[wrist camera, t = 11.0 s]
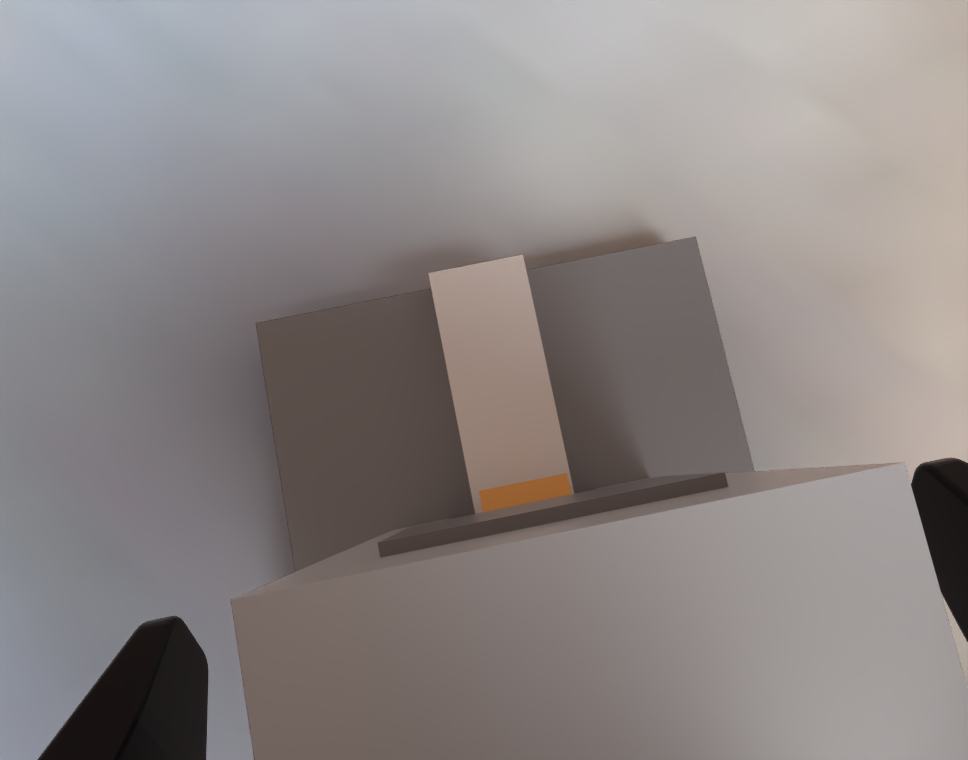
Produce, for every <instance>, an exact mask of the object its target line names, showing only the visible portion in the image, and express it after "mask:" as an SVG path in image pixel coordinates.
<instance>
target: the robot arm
mask: <svg viewBox="0 0 968 760" xmlns="http://www.w3.org/2000/svg"><path fill="white" fill-rule="evenodd" d="M911 487H912V491H913V494H914V498H915V501H916V505H917V508H918V512H919V516H920V519H921V523H922V526H923V530H924V533H925V537H926V541H927V544H928V548H929V551H930V555H931V558H932V562H933V566H934V569H935V573H936V576H937V580H938V584H939V587H940V591H941V593H942V595H943V597H944V599H945V601H946V603H947V605H948V607H949V608H950V610H951V612H952V614H953V616H954V618H955V620H956V622H957V624H958V626H959V627H960V629H961V631H962V633H963V635H964V636H965V638H966V640H967V642H968V463H966V462H964V461H962V460H960V459H956V458H944V459H940V460H935V461H930V462H925V463H922V464H920V465H919V466H918V467H917V468H916V470H915V472H914V476H913V480H912V483H911ZM207 704H208V664H207V659H206V656H205V654H204V652H203V650H202V649H201V647H200V646H199V644H198V643H197V641H196V639H195V638H194V636H193V635H192V633H191V632H190V630H189V629H188V627H187V626H186V624H185V623H184V621H183V620H182V619H181V618H179V617H177V616H170V617H165V618H160V619H155V620H151V621H147V622H145V623H143V624H142V625H141V626H139V627H138V628H137V629H136V631H135V632H134V633H133V635H132V636H131V637H130V638H129V640H128V641H127V642H126V644H125V645H124V646H123V648H122V649H121V650H120V652H119V653H118V654H117V656H116V657H115V658H114V660H113V661H112V662H111V664H110V665H109V666H108V667H107V669H106V670H105V671H104V673H103V674H102V675H101V677H100V678H99V679H98V681H97V682H96V683H95V685H94V686H93V687H92V689H91V690H90V691H89V692H88V694H87V695H86V696H85V698H84V699H83V700H82V702H81V703H80V704H79V706H78V707H77V708H76V710H75V711H74V712H73V714H72V715H71V716H70V718H69V719H68V720H67V721H66V723H65V724H64V725H63V727H62V728H61V729H60V731H59V732H58V733H57V735H56V736H55V737H54V739H53V740H52V741H51V743H50V744H49V745H48V746H47V748H46V749H45V750H44V752H43V753H42V754H41V756H40V757H39V758H38V760H206V741H207Z"/></svg>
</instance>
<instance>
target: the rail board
mask: <svg viewBox="0 0 968 760" xmlns="http://www.w3.org/2000/svg"><path fill="white" fill-rule="evenodd" d="M428 274H429V280H430V285H431V289H427V290H422V291H417V292H412V293H406V294H401V295H396V296H391V297H386V298H381V299H376V300H371V301H366V302H361V303H356V304H351V305H346V306H340V307H335V308H330V309H325V310H320V311H315V312H310V313H305V314H300V315H295V316H290V317H285V318H280V319H274V320H269V321H264V322H259V323H256V328H257V334H258V341H259V347H260V353H261V360H262V366H263V372H264V378H265V385H266V391H267V397H268V403H269V410H270V416H271V422H272V429H273V435H274V441H275V447H276V454H277V460H278V466H279V472H280V479H281V485H282V491H283V498H284V504H285V510H286V516H287V523H288V529H289V535H290V541H291V548H292V554H293V560H294V567H295V572H296V571H299V570H301V569H303V568H306V567H308V566H310V565H313V564H315V563H317V562H320V561H322V560H324V559H327V558H329V557H331V556H334V555H336V554H338V553H341V552H343V551H345V550H348V549H350V548H352V547H355V546H357V545H359V544H361V543H364V542H366V541H368V540H371V539H373V538H375V537H378V536H380V535H382V534H385V533H387V532H389V531H392V530H395V529H400V528H405V527H410V526H415V525H420V524H425V523H430V522H434V521H439V520H444V519H452V518H457V517H462V516H467V515H472V514H477V513H482V512H483V510H482V505H481V500H480V495H479V491H481V490H486V489H491V488H495V487H500V486H505V485H510V484H515V483H520V482H525V481H530V480H535V479H540V478H545V477H550V476H555V475H560V474H565V473H567V475H568V479H569V484H570V489H571V493H572V494H575V493H580V492H585V491H590V490H595V489H597V488H602V487H607V486H612V485H617V484H622V483H627V482H632V481H637V480H641V479H646V478H654V477H659V476H674V475H689V474H704V473H720V472H725V473H737V472H754V468H753V464H752V460H751V456H750V452H749V448H748V444H747V440H746V436H745V432H744V428H743V424H742V420H741V416H740V412H739V408H738V404H737V400H736V396H735V392H734V388H733V384H732V380H731V376H730V372H729V368H728V364H727V360H726V356H725V352H724V348H723V344H722V340H721V336H720V332H719V328H718V324H717V320H716V316H715V312H714V308H713V304H712V300H711V296H710V292H709V288H708V284H707V280H706V276H705V272H704V268H703V264H702V260H701V256H700V252H699V248H698V244H697V240H696V237H691V238H686V239H681V240H676V241H671V242H665V243H660V244H655V245H650V246H645V247H640V248H635V249H630V250H625V251H620V252H615V253H610V254H605V255H599V256H594V257H589V258H584V259H579V260H574V261H569V262H564V263H559V264H554V265H549V266H544V267H539V268H533V269H528V270H526V266H525V262H524V257H523V255H518V256H513V257H507V258H502V259H497V260H492V261H487V262H482V263H477V264H472V265H467V266H462V267H457V268H451V269H446V270H441V271H436V272H431V273H428Z"/></svg>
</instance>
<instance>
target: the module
mask: <svg viewBox="0 0 968 760" xmlns="http://www.w3.org/2000/svg"><path fill="white" fill-rule="evenodd" d="M479 495H480V500H481V505H482V510H483V512H482V513H477V514H472V515H467V516H462V517H457V518H452V519H444V520H439V521H434V522H430V523H425V524H420V525H415V526H410V527H405V528H400V529H395V530H392V531H389V532H387V533H385V534H382V535H380V536H378V537H375V538H373V539H371V540H368V541H366V542H364V543H361V544H359V545H357V546H355V547H352V548H350V549H348V550H345V551H343V552H341V553H338V554H336V555H334V556H331V557H329V558H327V559H324V560H322V561H320V562H317V563H315V564H313V565H310V566H308V567H306V568H303V569H301V570H299V571H296V572H294V573H292V574H289V575H287V576H285V577H283V578H280V579H278V580H276V581H273V582H271V583H269V584H266V585H264V586H262V587H259V588H257V589H255V590H252V591H250V592H248V593H245V594H243V595H241V596H238V597H236V598H234V599H231V605H232V612H233V618H234V625H235V632H236V639H237V646H238V652H239V659H240V666H241V673H242V680H243V686H244V693H245V700H246V707H247V714H248V720H249V727H250V734H251V741H252V748H253V754H254V760H968V687H967V684H966V680H965V677H964V673H963V669H962V666H961V662H960V659H959V655H958V651H957V648H956V644H955V641H954V637H953V634H952V630H951V626H950V623H949V619H948V616H947V612H946V609H945V605H944V601H943V598H942V594H941V591H940V587H939V584H938V580H937V576H936V573H935V569H934V566H933V562H932V558H931V555H930V551H929V548H928V544H927V541H926V537H925V533H924V530H923V526H922V523H921V519H920V516H919V512H918V508H917V505H916V501H915V498H914V494H913V491H912V487H911V483H910V480H909V476H908V473H907V469H906V466H905V462H904V463H887V464H870V465H854V466H837V467H820V468H804V469H787V470H771V471H754V472H737V473H725V472H720V473H704V474H689V475H674V476H659V477H654V478H646V479H641V480H637V481H632V482H627V483H622V484H617V485H612V486H607V487H602V488H597V489H595V490H590V491H585V492H580V493H575V494H572V493H571V489H570V484H569V479H568V475H567V473H565V474H560V475H555V476H550V477H545V478H540V479H535V480H530V481H525V482H520V483H515V484H510V485H505V486H500V487H495V488H491V489H486V490H481V491H479Z"/></svg>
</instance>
